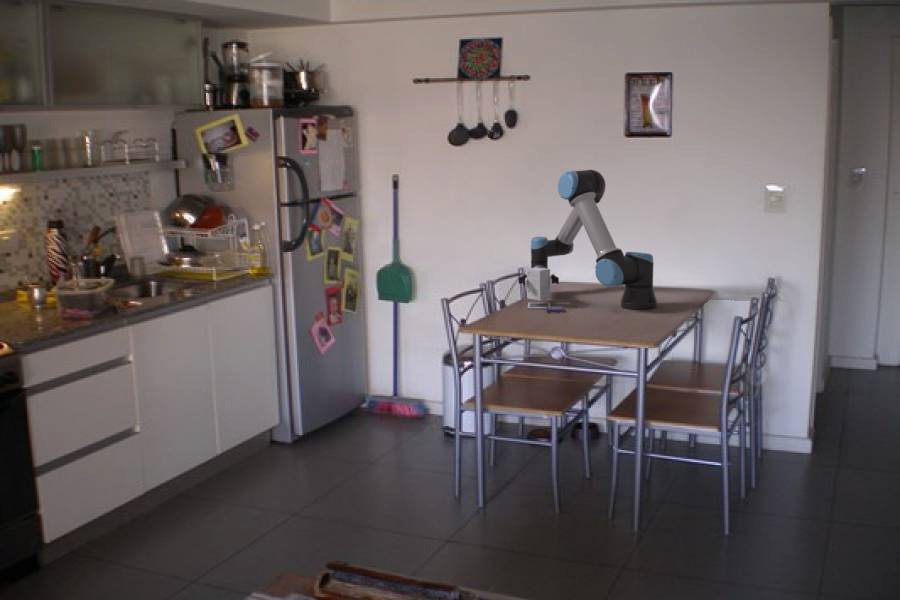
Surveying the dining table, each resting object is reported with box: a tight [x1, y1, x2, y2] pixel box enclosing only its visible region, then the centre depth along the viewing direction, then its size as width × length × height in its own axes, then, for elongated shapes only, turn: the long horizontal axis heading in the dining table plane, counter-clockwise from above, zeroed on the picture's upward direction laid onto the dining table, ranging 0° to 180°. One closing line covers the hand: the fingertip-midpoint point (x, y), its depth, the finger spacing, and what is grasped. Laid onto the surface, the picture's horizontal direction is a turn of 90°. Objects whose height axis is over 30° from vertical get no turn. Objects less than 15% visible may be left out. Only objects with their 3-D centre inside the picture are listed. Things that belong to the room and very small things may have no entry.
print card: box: [527, 301, 551, 310], centre depth 419 cm, size 9×11×1 cm
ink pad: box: [546, 306, 565, 314], centre depth 409 cm, size 7×7×1 cm
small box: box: [526, 267, 551, 301], centre depth 418 cm, size 8×6×13 cm
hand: (538, 283), depth 413 cm, fingers closed on small box, 10 cm apart
